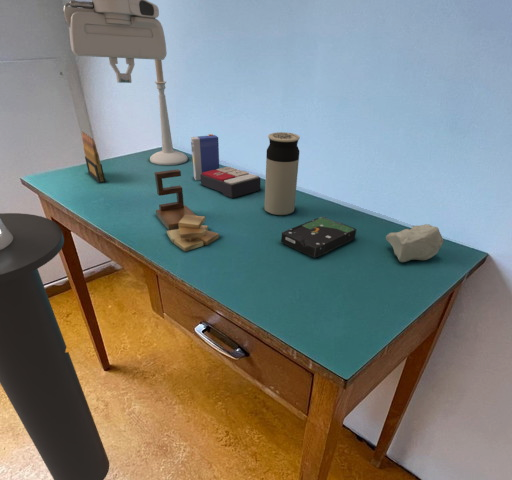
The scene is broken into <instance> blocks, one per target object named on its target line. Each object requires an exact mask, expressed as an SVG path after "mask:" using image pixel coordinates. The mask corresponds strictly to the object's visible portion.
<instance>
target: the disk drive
mask: <svg viewBox="0 0 512 480" xmlns="http://www.w3.org/2000/svg"><path fill="white" fill-rule="evenodd" d="M356 234H357V228H355V227H352V226H350V225H348V224H344V223H343V222H340V221H338V222H337V221H336V220H332V219H330V218H327V217H326V216H320V217H317V218H313V219H312V220H309V221H306V222H304V223H301V224H299V225H297V226H295V227H292V228H290V229H286V230H284V231H281V238H280V242H281V243H283V244H284V245H286V246H288V247H290V248H292V249H295V250H296V251H299V252H300V253H303V254H305V255H307V256H309V257H311V258H315V259H316V258H318V257H321V256H323V255H324V254H327V253H329V252H330V251H333V250H335V249H336V248H338V247H341V246H343V245H345V244H347V243H349V242H351V241H353V240H355V239H356Z"/></svg>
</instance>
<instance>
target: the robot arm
mask: <svg viewBox="0 0 512 480" xmlns="http://www.w3.org/2000/svg"><path fill="white" fill-rule="evenodd" d="M159 15H160V10H159V7H158V5H157V4H155V3H153V2H151V1H150V0H91V1H85V0H84V1H83V0H82V1H81V0H80V1H79V0H69V2H66V3H65V4H64V5H63V17H64V21H65V23H66V25H67V27H68V31H69V32H68V33H69V43H70V49H71V52H72V53H73V54H74V55H75V56H77V57H96V58H108V61H109V65H110V66H111V68H112V70H113V71H114V73H115V75H116V76H115V77H116V82H117V83H119V84H120V83H121V84H122V83H123V84H125V83H126V84H127V83H128V84H132V73H133V70H134V68H135V64H136V63H135V59H137V60H154V61H155V60H162V61H164V60H165V59H166V57H167V43H166V37H165V32H164V28H163V27H164V26H163V24H162V23H161V21H160V20H159V19H157V18H158V17H160V16H159ZM118 59H125V64H126V65H128V66H127V69H126V72H121V71H120V69H119V68H118V66H117V65H118V63H119V62H118ZM12 241H13V235H12V234H11V233H10V232H9V230H8V229H7V228H6V226H5V225H4V223H3V222H2V220H1V218H0V250H2V249H3V248H5V247H7V246H8V245H9V244H10V243H11V242H12Z"/></svg>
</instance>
